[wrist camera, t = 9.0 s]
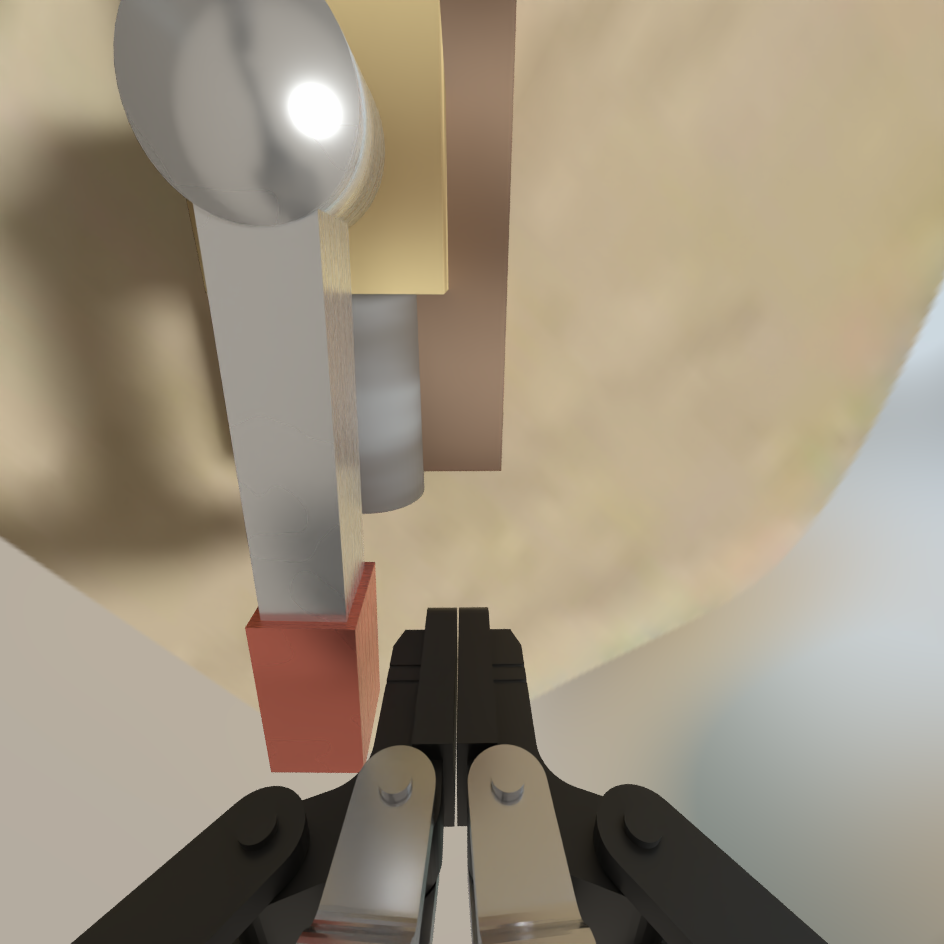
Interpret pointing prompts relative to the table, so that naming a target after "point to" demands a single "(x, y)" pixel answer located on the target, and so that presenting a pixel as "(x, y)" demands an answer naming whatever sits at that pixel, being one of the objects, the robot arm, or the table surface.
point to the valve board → (476, 246)
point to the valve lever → (278, 325)
